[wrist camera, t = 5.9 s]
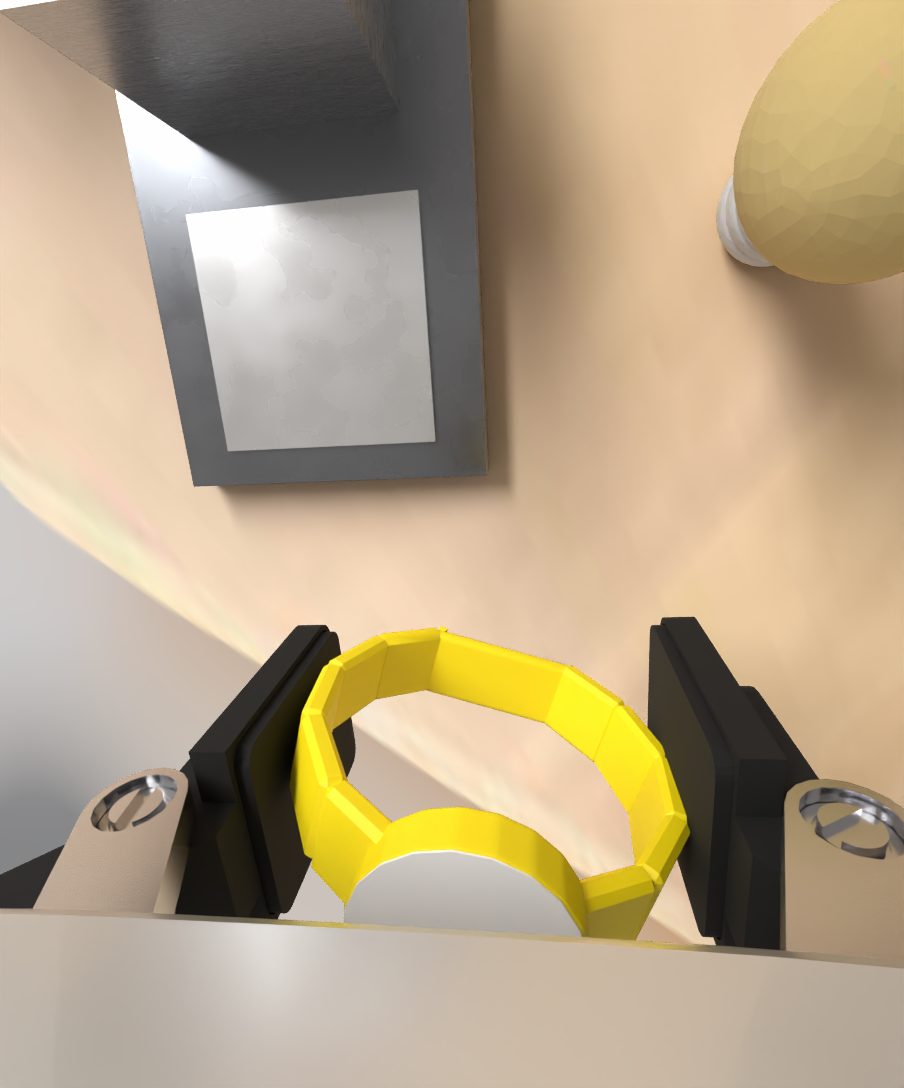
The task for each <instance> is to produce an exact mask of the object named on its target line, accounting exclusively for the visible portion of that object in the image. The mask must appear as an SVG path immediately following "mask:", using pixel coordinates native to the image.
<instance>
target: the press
mask: <svg viewBox="0 0 904 1088" xmlns="http://www.w3.org/2000/svg"><path fill="white" fill-rule="evenodd" d="M0 12H1V13H2V14H4V15H5V16H7V17H8V18H10V19H11V20H13V21H14V22H15V23H17V24H18V25H20V26H21V27H23V28H24V29H26V30H27V31H29V32H30V33H32V34H33V35H35V36H36V37H38V38H39V39H41V40H42V41H44V42H45V43H47V44H48V45H50V46H51V47H53V48H54V49H56V50H57V51H59V52H60V53H62V54H63V55H64V56H66V57H67V58H69V59H70V60H72V61H73V62H75V63H76V64H78V65H79V66H81V67H82V68H84V69H85V70H87V71H88V72H90V73H91V74H93V75H94V76H96V77H97V78H99V79H100V80H102V81H103V82H105V83H106V84H108V85H109V86H111V87H112V88H113V89H115V92H116V97H117V102H118V107H119V112H120V117H121V122H122V127H123V132H124V137H125V142H126V147H127V152H128V158H129V163H130V168H131V173H132V178H133V183H134V188H135V193H136V198H137V203H138V208H139V213H140V218H141V223H142V228H143V233H144V238H145V243H146V248H147V253H148V258H149V263H150V268H151V273H152V278H153V283H154V288H155V293H156V298H157V303H158V308H159V313H160V319H161V324H162V329H163V334H164V339H165V344H166V349H167V354H168V359H169V364H170V369H171V374H172V379H173V384H174V389H175V394H176V399H177V404H178V409H179V414H180V419H181V424H182V429H183V434H184V439H185V444H186V449H187V454H188V459H189V464H190V469H191V474H192V480H193V485H194V486H220V485H246V484H272V483H298V482H324V481H350V480H376V479H402V478H428V477H454V476H480V475H487V472H488V469H489V467H488V444H487V420H486V396H485V373H484V349H483V325H482V302H481V278H480V254H479V231H478V207H477V183H476V159H475V136H474V112H473V88H472V65H471V41H470V17H469V0H0Z"/></svg>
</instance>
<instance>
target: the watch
mask: <svg viewBox="0 0 904 1088" xmlns="http://www.w3.org/2000/svg"><path fill="white" fill-rule="evenodd" d="M447 630H448V629H447V628H444V627H441V626H440V630H438V629H437V628H429V629H420V630H411V631H402V632H392V633H384V634H382V635H380V636H374V637H372V638H370V639H368V640H367V641H365V642H363V643H361V644H359V645H357V646H356V647H354V648H352V649H350V650H348V651H347V652H345V653H343V654H341V655H339V656H338V657H336V658H334V659H332V660H330V661H329V664H328V665H326V666H324V667H323V669H322V671H321V673H320V675H319V677H318V679H317V681H316V683H315V685H314V687H313V690H312V692H311V694H310V696H309V698H308V700H307V702H306V704H305V706H304V708H303V710H302V715H301V720H300V726H299V731H298V737H297V742H296V748H295V753H294V759H293V764H292V770H291V780H290V785H289V786H290V791H291V795H292V800H293V804H294V809H295V813H296V818H297V822H298V827H299V831H300V836H301V841H302V845H303V850H304V854H305V855H306V856H308V857H309V858H311V859H312V869H313V870H314V871H315V872H316V873H317V874H318V875H319V876H320V877H321V878H322V879H323V880H324V882H325V883H326V884H327V885H328V886H329V887H330V888H331V889H332V890H333V891H334V892H335V894H336V895H337V896H338V897H339V898H340V899H341V900H342V901H343V902H344V903H345V905H344V923H353V924H371V925H388V926H406V927H423V928H441V929H458V930H475V931H492V932H509V933H526V934H542V935H558V936H573V937H589V938H605V939H620V940H636V938H637V936H638V934H639V932H640V931H641V929H642V927H643V925H644V923H645V921H646V919H647V917H648V915H649V913H650V911H651V909H652V907H653V905H654V903H655V901H656V899H657V897H658V896H659V894H660V892H661V890H662V888H663V886H664V884H665V882H666V880H667V878H668V876H669V874H670V872H671V870H672V868H673V866H674V864H675V862H676V860H677V858H678V856H679V854H680V852H681V850H682V848H683V846H684V844H685V842H686V841H687V839H688V837H689V835H690V830H689V827H688V825H687V816H686V813H685V810H684V807H683V804H682V801H681V798H680V795H679V793H678V790H677V787H676V784H675V781H674V778H673V775H672V772H671V770H670V767H669V764H668V761H667V758H665V752H664V749H663V747H662V745H661V743H660V742H659V741H658V740H657V739H656V737H655V736H654V735H653V734H652V733H651V731H650V730H649V729H648V728H647V727H646V725H645V724H644V723H643V722H642V721H641V719H640V718H639V717H638V716H637V715H636V713H635V712H634V711H633V710H632V709H631V707H630V706H625V705H624V702H623V700H622V699H620V698H619V697H617V696H616V695H614V694H613V693H611V692H610V691H608V690H607V689H606V688H604V687H603V686H601V685H600V684H598V683H597V682H595V681H594V680H592V679H591V678H589V677H588V676H587V675H585V674H584V673H582V672H581V671H579V670H578V669H576V668H575V667H573V666H572V665H571V666H568V665H564V664H561V663H557V662H554V661H550V660H546V659H543V658H539V657H535V656H532V655H528V654H524V653H521V652H517V651H514V650H510V649H506V648H503V647H499V646H495V645H492V644H488V643H485V642H481V641H477V640H474V639H470V638H466V637H463V636H459V635H455V634H452V633H448V632H447ZM424 690H427V691H431V692H434V693H438V694H441V695H445V696H449V697H452V698H456V699H459V700H463V701H467V702H470V703H474V704H477V705H481V706H484V707H488V708H492V709H495V710H499V711H502V712H506V713H510V714H513V715H517V716H520V717H524V718H528V719H531V720H535V721H538V722H542V723H545V724H546V725H548V726H549V727H550V728H551V729H553V730H554V731H555V732H556V733H558V734H559V735H560V736H561V737H563V738H564V739H565V740H566V741H568V742H569V743H570V744H571V745H573V746H574V747H575V748H576V749H578V750H579V751H580V752H582V753H583V754H584V755H585V756H587V757H588V758H589V759H590V760H592V761H593V762H595V764H596V765H597V767H598V768H599V770H600V771H601V773H602V774H603V776H604V777H605V779H606V781H607V782H608V784H609V785H610V787H611V788H612V790H613V791H614V793H615V794H616V796H617V797H618V799H619V800H620V802H621V803H622V805H623V806H624V808H625V809H626V811H627V812H628V814H629V822H630V829H631V837H632V844H633V852H634V859H635V865H632V866H629V867H625V868H622V869H618V870H614V871H611V872H607V873H604V874H600V875H596V876H593V877H589V878H585V879H582V880H579V878H578V877H577V875H576V874H575V872H574V871H573V869H572V868H571V866H570V864H569V863H568V861H567V860H566V858H565V857H564V856H563V854H562V853H561V852H560V851H558V850H557V849H556V848H555V847H554V846H553V845H551V844H550V843H549V842H548V841H547V840H545V839H544V838H543V837H542V836H541V835H539V834H538V833H537V832H536V831H534V830H533V829H531V828H529V827H527V826H524V825H522V824H520V823H518V822H516V821H514V820H512V819H509V818H507V817H505V816H503V815H500V814H497V813H493V812H487V811H482V810H476V809H471V808H466V807H450V808H436V809H426V810H423V811H420V812H417V813H415V814H412V815H409V816H407V817H404V818H401V819H399V820H397V821H394V822H391V821H390V820H389V819H388V818H387V817H386V816H385V815H384V814H383V813H382V812H381V811H380V810H378V809H377V808H376V807H375V806H374V805H373V804H372V803H371V802H370V801H369V800H368V799H366V798H365V797H364V796H363V795H362V794H361V793H360V792H359V791H358V790H357V789H355V788H354V787H353V786H352V785H351V784H350V783H349V782H347V781H348V780H347V777H346V774H345V771H344V768H343V765H342V762H341V759H340V756H339V753H338V750H337V747H336V744H335V741H334V738H333V735H332V732H333V729H334V728H336V727H337V726H339V725H340V724H341V723H343V722H344V721H346V720H347V719H348V718H350V717H351V716H353V715H354V714H355V713H357V712H358V711H360V710H361V709H362V708H364V707H365V706H367V705H368V704H369V703H371V702H372V701H374V700H375V699H380V698H386V697H391V696H397V695H402V694H407V693H413V692H418V691H424Z"/></svg>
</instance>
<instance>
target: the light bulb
mask: <svg viewBox="0 0 904 1088" xmlns="http://www.w3.org/2000/svg"><path fill="white" fill-rule="evenodd" d="M716 221H717V230H718V234H719V237H720V239H721V241H722V243H723V245H724V247H725V248H726V250H727V251H728V252H729V253H730V254H731V255H732V256H733V257H734V258H735V259H737V260H739V261H740V262H742V263H745V264H748V265H751V266H757V267H768V266H773V265H774V266H776V267H777V268H779V269H780V270H782V271H784V272H785V273H788V274H790V275H793V276H796V277H799V278H802V279H805V280H808V281H812V282H819V283H827V284H851V283H859V282H868V281H873V280H877V279H881V278H885V277H889V276H892V275H895V274H898V273H901V272H904V0H840V1H838V2H837V3H835V4H834V5H833V6H831V7H830V8H829V9H828V10H827V11H826V12H824V13H823V14H822V15H821V16H820V17H818V18H817V19H816V20H815V21H814V22H813V23H811V24H810V25H809V26H808V27H807V28H806V29H805V30H804V31H803V32H802V33H801V34H800V35H799V36H798V37H797V39H796V40H795V41H794V42H793V43H792V44H791V46H790V47H789V48H788V49H787V50H786V51H785V53H784V54H783V55H782V56H781V57H780V58H779V60H778V61H777V63H776V64H775V66H774V67H773V69H772V70H771V72H770V74H769V75H768V77H767V78H766V80H765V82H764V83H763V85H762V86H761V88H760V90H759V91H758V93H757V95H756V96H755V98H754V101H753V103H752V105H751V108H750V110H749V112H748V115H747V117H746V120H745V122H744V124H743V127H742V130H741V134H740V138H739V142H738V146H737V150H736V154H735V160H734V174H733V175H732V176H731V177H730V179H729V180H728V182H727V184H726V186H725V188H724V190H723V192H722V194H721V197H720V200H719V203H718V209H717V220H716Z"/></svg>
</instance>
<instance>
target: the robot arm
mask: <svg viewBox="0 0 904 1088" xmlns="http://www.w3.org/2000/svg"><path fill="white" fill-rule="evenodd" d="M339 655H341V651H340V645H339V639H338V635H337V633H336V632H330V631H329V629H328V627H327V626H326V625H299V626H297V627H296V628H295V629H294V630H293V631H292V632H291V633H290V635H289V636H288V637H287V638H286V639H285V640H284V642H283V643H282V644H281V645H280V646H279V647H278V649H277V650H276V651H275V652H274V653H273V654H272V656H271V657H270V658H269V659H268V660H267V661H266V663H265V664H264V665H263V666H262V667H261V668H260V670H259V671H258V672H257V673H256V674H255V675H254V677H253V678H252V679H251V680H250V681H249V682H248V684H247V685H246V686H245V687H244V688H243V689H242V691H241V692H240V693H239V694H238V695H237V696H236V698H235V699H234V700H233V701H232V702H231V703H230V705H229V706H228V707H227V708H226V709H225V710H224V712H223V713H222V714H221V715H220V716H219V717H218V719H217V720H216V721H215V722H214V723H213V724H212V726H211V727H210V728H209V729H208V730H207V731H206V733H205V734H204V735H203V736H202V737H201V739H200V740H199V741H198V742H197V743H196V744H195V745H194V747H193V748H192V749H191V750H190V751H189V755H190V759H189V760H188V762H187V763H186V764H185V765H184V766H183V767H182V769H181V770H180V771H178V770H176V769H170V768H157V769H149V770H145V771H142V772H138V773H135V774H132V775H130V776H128V777H125V778H123V779H121V780H119V781H117V782H115V783H114V784H112V785H110V786H109V787H107V788H106V789H104V790H103V791H101V792H100V793H99V794H98V795H97V796H96V797H95V798H93V799H92V800H91V801H90V802H89V803H88V805H87V806H86V808H85V809H84V810H83V812H82V813H81V815H80V817H79V819H78V821H77V822H76V825H75V827H74V828H73V830H72V832H71V834H70V836H69V838H68V840H67V842H66V844H65V845H63V846H61V847H59V848H56V849H54V850H52V851H50V852H48V853H46V854H44V855H41V856H40V857H37V858H35V859H33V860H31V861H29V862H27V863H24V864H22V865H20V866H18V867H16V868H14V869H12V870H9V871H7V872H5V873H3V874H1V875H0V1088H904V809H903V808H902V807H900V806H899V805H897V804H896V803H894V802H893V801H892V800H890V799H889V798H887V797H885V796H883V795H880V794H878V793H876V792H874V791H872V790H870V789H868V788H865V787H861V786H858V785H855V784H852V783H848V782H843V781H837V780H830V779H819V778H818V777H817V775H816V774H815V773H814V771H813V770H812V768H811V767H810V765H809V764H808V762H807V761H806V760H805V758H804V757H803V755H802V754H801V752H800V751H799V749H798V748H797V747H796V745H795V744H794V742H793V741H792V739H791V738H790V737H789V735H788V734H787V732H786V731H785V729H784V728H783V726H782V725H781V724H780V722H779V721H778V719H777V718H776V716H775V715H774V713H773V712H772V711H771V709H770V708H769V706H768V705H767V703H766V702H765V701H764V699H763V698H762V696H761V695H760V693H759V692H758V691H757V690H756V689H755V688H754V687H751V686H739V684H738V683H737V681H736V680H735V678H734V676H733V675H732V673H731V672H730V670H729V669H728V667H727V666H726V664H725V663H724V661H723V660H722V658H721V656H720V655H719V653H718V652H717V650H716V649H715V647H714V646H713V644H712V643H711V641H710V640H709V638H708V636H707V635H706V633H705V632H704V630H703V629H702V627H701V626H700V624H699V623H698V621H697V619H696V618H695V617H666V618H662V620H661V624H660V625H652V626H651V629H650V650H649V691H648V729H649V730H650V731H651V733H652V734H653V735H654V736H655V737H656V739H657V740H658V741H659V742H660V743H661V745H662V747H663V749H664V752H665V758H667V761H668V764H669V767H670V770H671V772H672V775H673V778H674V781H675V784H676V787H677V790H678V793H679V795H680V798H681V801H682V804H683V807H684V810H685V813H686V816H687V825H688V827H689V830H690V835H689V837H688V839H687V841H686V842H685V844H684V846H683V848H682V850H681V852H680V854H679V856H678V858H677V860H678V863H679V867H680V870H681V873H682V877H683V880H684V883H685V887H686V890H687V893H688V897H689V900H690V903H691V907H692V910H693V913H694V917H695V920H696V923H697V926H698V929H699V932H700V934H701V936H703V937H714V940H715V944H716V946H715V945H699V944H683V943H667V942H652V941H636V940H620V939H605V938H589V937H573V936H558V935H542V934H526V933H509V932H492V931H475V930H458V929H441V928H423V927H406V926H388V925H371V924H353V923H335V922H334V923H333V922H317V921H299V920H298V921H297V920H279V919H278V917H279V915H280V913H287V912H288V911H289V910H290V909H291V907H292V905H293V903H294V900H295V898H296V896H297V893H298V891H299V889H300V886H301V884H302V882H303V879H304V877H305V875H306V872H307V870H308V868H309V865H310V863H311V861H312V859H311V858H309V857H308V856H306V855H305V854H304V850H303V845H302V841H301V836H300V831H299V827H298V822H297V818H296V813H295V809H294V804H293V800H292V795H291V791H290V786H289V785H290V780H291V770H292V764H293V759H294V753H295V748H296V742H297V737H298V731H299V726H300V720H301V715H302V710H303V708H304V706H305V704H306V702H307V700H308V698H309V696H310V694H311V692H312V690H313V687H314V685H315V683H316V681H317V679H318V677H319V675H320V673H321V671H322V669H323V667H324V666H326V665H328V664H329V661H330V660H332V659H334V658H336V657H338V656H339ZM332 735H333V738H334V741H335V744H336V747H337V750H338V753H339V756H340V759H341V762H342V765H343V768H344V771H345V774H346V777H347V776H348V774H349V772H350V769H351V767H352V764H353V762H354V758H355V738H354V732H353V727H352V720H351V717H350V718H348V719H347V720H346V721H344V722H343V723H341V724H340V725H339V726H337V727H336V728H334V729H333V732H332Z"/></svg>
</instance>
